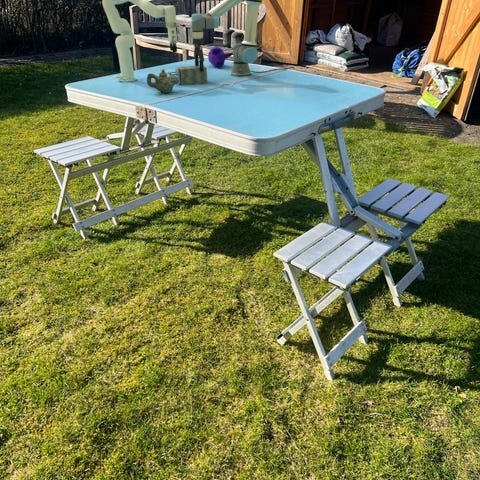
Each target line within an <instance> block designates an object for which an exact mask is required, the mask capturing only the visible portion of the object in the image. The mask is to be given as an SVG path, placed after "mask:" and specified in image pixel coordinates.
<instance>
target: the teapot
mask: <svg viewBox="0 0 480 480" xmlns="http://www.w3.org/2000/svg"><path fill="white" fill-rule="evenodd" d="M152 79H154V82H152ZM178 82H179V79H178V77H176V75H171V76H170V75H169V76H168V72H166V71H165V69H163V68H162V69H161V72H159V74H158V75H156V74H154V73H148V74H147V76H146V83H147V85H148V87H150V88H153V89H155V90H157V91H158V92H160V93H162V94H170V92H172V91H173V89H174V86H175V85H177V84H178Z"/></svg>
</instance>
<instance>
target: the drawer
mask: <svg viewBox="0 0 480 480" xmlns="http://www.w3.org/2000/svg"><path fill="white" fill-rule="evenodd" d="M167 75H169V76H171V75H175V76H176V77H178V79H179V82H178V83H177V84H178V85H181V84H180V81H181V73H180V70H178V68H175V70H174V71H172V72H169V71H167Z"/></svg>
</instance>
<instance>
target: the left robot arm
mask: <svg viewBox="0 0 480 480" xmlns="http://www.w3.org/2000/svg"><path fill="white" fill-rule="evenodd" d="M101 2H102V7H103V10H104V12H105V15H106V17H107V20H108V23H109V25H110V28H111V30H112V32H113V33H114V34H120V35H118V36H117V37H116V38H115V48H116V52H117V56H118V62H119V67H120V68H119V69H120V74H119V75H115V76H114V78H115V79H117V80H119V81H120V82H123V83H126V82H128V83H130V82H135V81H137V79H138V78H137V77H135V71H134V63H133V55H132V52H131V48H132V47H134V46H135V44H136V41H135V36H134V33H133V31H132V28H131V25H130V23H129V22H128V20H127V19H125V18H123V17H122V18H121V16H120V13H119V10H118V9H117V8H116V5H122V4H124V3H127V2H130V3H131V4H133V5H135V6H137V7H139V8H140V10H142V12H144V13H145V14H146V15H149V16H151V17H152V18H155V19H160V18H164V20H165V28H166V29H167V37H168V42H169V49H170V51H171V52H172V53H178V47H177V43H178V35H177V28H178V25H177V14H176V7H175V5H163V4H158V5H155V4H154V3H152V2H150V1H149V0H102V1H101Z"/></svg>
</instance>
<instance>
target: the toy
mask: <svg viewBox="0 0 480 480" xmlns="http://www.w3.org/2000/svg"><path fill="white" fill-rule="evenodd" d="M230 57H233V52H225V51H224V50H223V49H222V47H220V46H214V47H212V48H210V50H209V51H208V54H207V59H208V62H209V63H210V64H211V65H212V66H214V67H216V68H217V69H220V68H222V67H223V66H224V65H225V62H226V60H227V59H228V58H230Z"/></svg>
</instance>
